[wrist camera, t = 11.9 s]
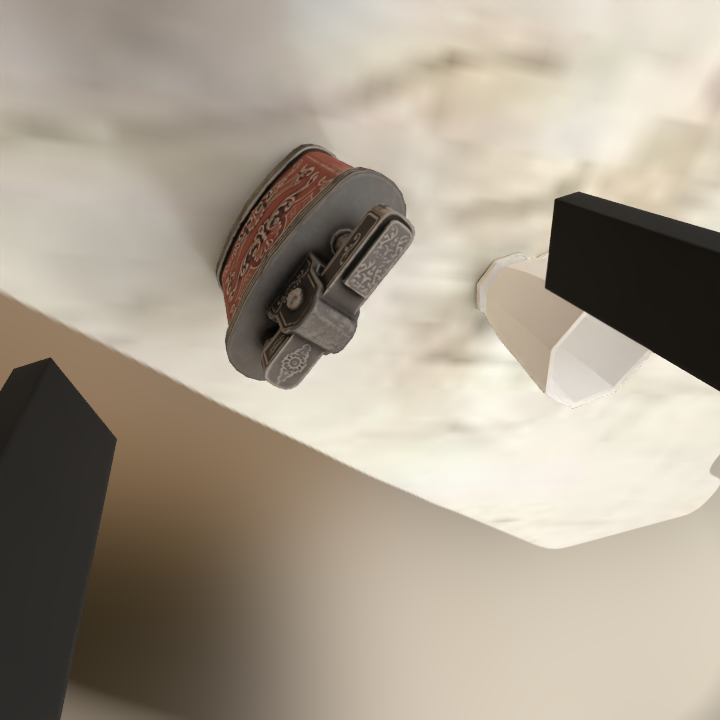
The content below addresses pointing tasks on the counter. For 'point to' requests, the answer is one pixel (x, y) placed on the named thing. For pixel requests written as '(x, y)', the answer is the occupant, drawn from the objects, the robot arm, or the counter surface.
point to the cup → (554, 334)
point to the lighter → (307, 262)
